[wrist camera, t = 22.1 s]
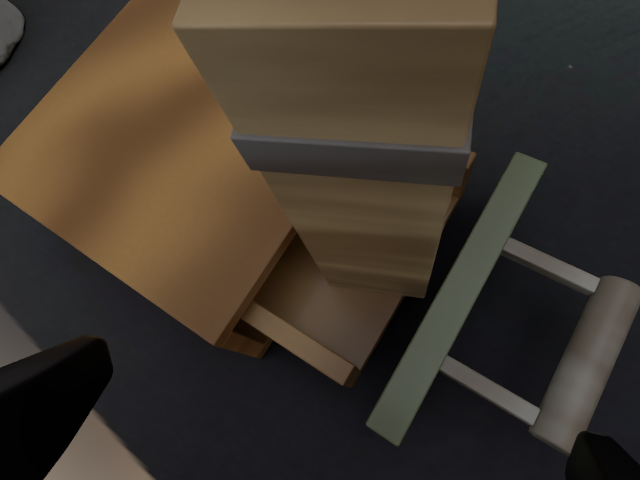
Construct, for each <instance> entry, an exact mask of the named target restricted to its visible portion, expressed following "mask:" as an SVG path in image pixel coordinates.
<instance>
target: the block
mask: <svg viewBox="0 0 640 480" xmlns="http://www.w3.org/2000/svg"><path fill="white" fill-rule="evenodd" d="M497 8H498V0H181V1H180V4H179V7H178V9H177V12H176V14H175V17H174V20H173V22H172V28H173V30H174V32H175V33H176V35H177V37H178V38H179V40H180V42H181V43H182V45H183V47H184V48H185V50H186V51H187V53H188V55H189V56H190V58H191V60H192V61H193V63H194V65H195V66H196V68H197V69H198V71H199V73H200V74H201V76H202V78H203V79H204V81H205V83H206V84H207V86H208V88H209V89H210V91H211V92H212V94H213V96H214V97H215V99H216V101H217V102H218V104H219V106H220V107H221V109H222V110H223V112H224V114H225V115H226V117H227V119H228V120H229V122H230V124H231V125H232V127H233V129H232V133H231V136H230V138H231V141H232V142H233V144H234V145H235V147H236V148H237V150H238V151H239V153H240V154H241V156H242V158H243V159H244V161H245V162H246V164H247V165H248V167H249V168H250V170H253V171H260V173H261V174H262V176H263V178H264V179H265V181H266V182H267V184H268V186H269V187H270V189H271V191H272V192H273V194H274V196H275V197H276V199H277V200H278V202H279V204H280V205H281V207H282V209H283V210H284V212H285V214H286V215H287V217H288V218H289V220H290V222H291V223H292V225H293V227H294V228H295V230H296V232H297V233H298V235H299V237H300V238H301V240H302V241H303V243H304V245H305V246H306V248H307V250H308V251H309V253H310V255H311V256H312V258H313V259H314V261H315V263H316V264H317V266H318V268H319V269H320V271H321V273H322V274H323V276H324V277H325V279H326V281H327V282H328V284H329V285H332V286H339V287H347V288H354V289H361V290H368V291H375V292H382V293H390V294H397V295H404V296H411V297H418V298H425V295H426V291H427V287H428V284H429V280H430V276H431V272H432V268H433V265H434V261H435V257H436V253H437V249H438V246H439V242H440V238H441V234H442V230H443V227H444V223H445V219H446V215H447V211H448V208H449V204H450V200H451V196H452V192H453V189H454V187H460V186H461V184H462V180H463V177H464V174H465V170H466V167H467V164H468V160H469V157H470V153H471V143H472V130H473V117H474V109H475V105H476V101H477V98H478V94H479V90H480V86H481V82H482V79H483V75H484V71H485V67H486V63H487V60H488V56H489V52H490V48H491V44H492V41H493V37H494V33H495V29H496V24H497Z"/></svg>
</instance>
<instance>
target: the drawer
mask: <svg viewBox="0 0 640 480" xmlns="http://www.w3.org/2000/svg"><path fill="white" fill-rule="evenodd" d="M475 158H476V153H474V152H472V151H471V153H470V157H469V160H468V164H467V167H466V170H465V174H464V177H463V180H462V184H461V186H460V187H454V189H453V192H452V196H451V200H450V204H449V208H448V211H447V215H446V219H445V223H444V227H443V229H444V228H445V226H446V224H447V222H448V220H449V219H450V217H451V215H452V213H453V212H454V210H455V208H456V206H457V205H458V203H459V201H460V199H461V198H462V196H463V194H464V192H465V189H466V186H467V183H468V180H469V177H470V174H471V170H472V167H473V164H474V161H475ZM546 167H547V163H545V162H542V161H540V160H537V159H535V158H532V157H529V156H527V155H524V154H522V153H519V152H515V154H514V155H513V157H512V159H511V161H510V163H509V164H508V166H507V168H506V170H505V172H504V173H503V175H502V177H501V179H500V181H499V183H498V184H497V186H496V188H495V190H494V192H493V193H492V195H491V197H490V199H489V201H488V202H487V204H486V206H485V208H484V210H483V211H482V213H481V215H480V217H479V219H478V221H477V222H476V224H475V226H474V228H473V230H472V231H471V233H470V235H469V237H468V239H467V240H466V242H465V244H464V246H463V248H462V250H461V251H460V253H459V255H458V257H457V259H456V260H455V262H454V264H453V266H452V268H451V269H450V271H449V273H448V275H447V277H446V278H445V280H444V282H443V284H442V286H441V288H440V289H439V291H438V293H437V295H436V297H435V298H434V300H433V302H432V304H431V306H430V307H429V309H428V311H427V313H426V315H425V316H424V318H423V320H422V322H421V324H420V326H419V327H418V329H417V331H416V333H415V335H414V336H413V338H412V340H411V342H410V344H409V345H408V347H407V349H406V351H405V353H404V354H403V356H402V358H401V360H400V362H399V364H398V365H397V367H396V369H395V371H394V373H393V374H392V376H391V378H390V380H389V382H388V383H387V385H386V387H385V389H384V391H383V393H382V394H381V396H380V398H379V400H378V402H377V403H376V405H375V407H374V409H373V411H372V412H371V414H370V416H369V418H368V420H367V421H366V426H367V427H369V428H370V429H372V430H373V431H375V432H376V433H378V434H379V435H381V436H382V437H383V438H385V439H386V440H388V441H389V442H391V443H392V444H394V445H395V446H397V447H398V446H399V445H400V444H401V442H402V440H403V438H404V436H405V434H406V432H407V430H408V428H409V426H410V425H411V423H412V421H413V419H414V417H415V415H416V413H417V411H418V409H419V408H420V406H421V404H422V402H423V400H424V398H425V396H426V394H427V392H428V390H429V389H430V387H431V385H432V383H433V381H434V379H435V377H436V375H437V373H438V371H439V372H440V373H442V374H444V375H445V376H447V377H449V378H450V379H452V380H454V381H455V382H457V383H459V384H461V385H462V386H464V387H466V388H467V389H469V390H471V391H472V392H474V393H476V394H477V395H479V396H481V397H482V398H484V399H486V400H487V401H489V402H491V403H492V404H494V405H496V406H497V407H499V408H501V409H502V410H504V411H506V412H507V413H509V414H511V415H512V416H514V417H516V418H517V419H519V420H521V421H522V422H524V423H526V424H528V425H530V427H529V432H530V433H531V434H532V435H533V436H534V437H536V438H537V439H539V440H540V441H542V442H544V443H545V444H547V445H549V446H550V447H552V448H554V449H556V450H558V451H559V452H561V453H563V454H565V455H568V456H570V453H571V450H572V448H573V445H574V442H575V440H576V437H577V435H578V434H579V433H580V432H581V431H586V430H587V427H588V425H589V423H590V420H591V418H592V416H593V413H594V411H595V409H596V406H597V404H598V402H599V399H600V397H601V395H602V392H603V390H604V388H605V385H606V383H607V381H608V378H609V376H610V374H611V371H612V369H613V367H614V364H615V362H616V360H617V357H618V355H619V353H620V350H621V348H622V346H623V343H624V341H625V339H626V336H627V334H628V332H629V329H630V327H631V325H632V322H633V320H634V318H635V315H636V313H637V311H638V308H639V306H640V286H638V285H637V284H635V283H633V282H631V281H629V280H626V279H623V278H620V277H616V276H601V277H600V278H598V277H596V276H593V275H591V274H589V273H587V272H585V271H582V270H580V269H578V268H576V267H574V266H572V265H569V264H567V263H565V262H563V261H561V260H558V259H556V258H554V257H552V256H550V255H548V254H545V253H543V252H541V251H539V250H537V249H534V248H532V247H530V246H528V245H526V244H524V243H521V242H519V241H517V240H515V239H513V238H510V235H511V233H512V231H513V229H514V227H515V225H516V224H517V222H518V220H519V218H520V216H521V214H522V212H523V210H524V208H525V206H526V205H527V203H528V201H529V199H530V197H531V195H532V193H533V191H534V189H535V187H536V186H537V184H538V182H539V180H540V178H541V176H542V174H543V172H544V170H545V169H546ZM442 231H443V230H442ZM500 255H502V256H504V257H506V258H508V259H510V260H512V261H514V262H517V263H519V264H521V265H523V266H525V267H527V268H529V269H531V270H533V271H535V272H538V273H540V274H542V275H544V276H546V277H548V278H550V279H552V280H554V281H557V282H559V283H561V284H563V285H565V286H567V287H569V288H571V289H573V290H575V291H578V292H580V293H582V294H584V295H586V296H589V295H590V297H589V299H588V301H587V303H586V306H585V308H584V310H583V312H582V314H581V316H580V319H579V321H578V323H577V325H576V327H575V329H574V332H573V334H572V336H571V338H570V340H569V342H568V345H567V347H566V349H565V351H564V353H563V355H562V358H561V360H560V362H559V364H558V366H557V368H556V371H555V373H554V375H553V377H552V379H551V381H550V384H549V386H548V388H547V390H546V392H545V395H544V397H543V399H542V401H541V403H540V405H539V408H538V407H536V406H535V405H533V404H531V403H529V402H528V401H526V400H524V399H522V398H521V397H519V396H517V395H516V394H514V393H512V392H510V391H509V390H507V389H505V388H504V387H502V386H500V385H498V384H497V383H495V382H493V381H491V380H490V379H488V378H486V377H485V376H483V375H481V374H479V373H478V372H476V371H474V370H472V369H471V368H469V367H467V366H466V365H464V364H462V363H460V362H459V361H457V360H455V359H454V358H452V357H450V356H448V355H447V354H448V353H449V351H450V349H451V347H452V345H453V343H454V341H455V339H456V337H457V335H458V334H459V332H460V330H461V328H462V326H463V324H464V322H465V320H466V318H467V316H468V315H469V313H470V311H471V309H472V307H473V305H474V303H475V301H476V299H477V297H478V296H479V294H480V292H481V290H482V288H483V286H484V284H485V282H486V280H487V279H488V277H489V275H490V273H491V271H492V269H493V267H494V265H495V263H496V261H497V260H498V258H499V256H500ZM404 298H405V296H404V295H397V294H390V293H382V292H375V291H368V290H361V289H354V288H347V287H339V286H332V285H329V284H328V282H327V281H326V279H325V277H324V276H323V274H322V273H321V271H320V269H319V268H318V266H317V264H316V263H315V261H314V259H313V258H312V256H311V255H310V253H309V251H308V250H307V248H306V246H305V245H304V243H303V241H302V240H301V238H300V237H299V235H298V233H296V235H295V236H294V238H293V239H292V241H291V242H290V244H289V245H288V247H287V248H286V250H285V251H284V253H283V254H282V256H281V257H280V259H279V260H278V262H277V263H276V265H275V267H274V268H273V270H272V271H271V273H270V274H269V276H268V277H267V279H266V280H265V282H264V283H263V285H262V286H261V288H260V289H259V291H258V292H257V294H256V295H255V297H254V298H253V300H252V301H251V303H250V304H249V306H248V307H247V309H246V310H245V312H244V314H243V315H242V317H241V318H240V319H242V320H243V321H245V322H246V323H248V324H249V325H251V326H252V327H254V328H255V329H257V330H258V331H260V332H261V333H263V334H264V335H266V336H268V337H269V338H271V339H272V340H274V341H275V342H277V343H278V344H280V345H281V346H283V347H284V348H286V349H287V350H289V351H290V352H292V353H293V354H295V355H296V356H298V357H299V358H301V359H302V360H304V361H305V362H307V363H308V364H310V365H311V366H313V367H314V368H316V369H317V370H319V371H320V372H322V373H323V374H325V375H326V376H328V377H329V378H331V379H332V380H334V381H335V382H337V383H338V384H340V385H341V386H346V387H350V388H353V387H354V385H355V384H356V382H357V380H358V378H359V377H360V375H361V373H362V371H363V370H364V368H365V366H366V364H367V362H368V361H369V359H370V357H371V355H372V354H373V352H374V350H375V348H376V347H377V345H378V343H379V341H380V340H381V338H382V336H383V334H384V333H385V331H386V329H387V327H388V326H389V324H390V322H391V320H392V319H393V317H394V315H395V313H396V312H397V310H398V308H399V306H400V305H401V303H402V301H403V299H404Z"/></svg>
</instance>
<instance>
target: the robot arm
mask: <svg viewBox="0 0 640 480" xmlns="http://www.w3.org/2000/svg"><path fill="white" fill-rule="evenodd" d="M112 374H113V365H112V361H111V357H110V353H109V349H108V346H107V342H106V341H105V340H104V339H103V338H101V337H96V336H91V335H83V336H80V337H77V338H75V339H72V340H70V341H67V342H65V343H62V344H60V345H57V346H54V347H52V348H49V349H47V350H44V351H42V352H39V353H37V354H34V355H31V356H29V357H26V358H24V359H21V360H19V361H16V362H13V363H11V364H8V365H6V366H3V367H1V368H0V480H43V479H44V478H45V477H46V476H47V474H48V473H49V472H50V470H51V469H52V467H53V466H54V465H55V463H56V462H57V461H58V460H59V458H60V457H61V456H62V454H63V453H64V451H65V450H66V449H67V447H68V446H69V444H70V443H71V441H72V440H73V438H74V437H75V435H76V433H77V432H78V430H79V429H80V427H81V426H82V424H83V422H84V421H85V419H86V418H87V416H88V415H89V413H90V411H91V410H92V408H93V407H94V405H95V404H96V402H97V400H98V399H99V397H100V396H101V394H102V392H103V391H104V389H105V388H106V386H107V384H108V383H109V381H110V379H111V377H112ZM565 476H566V480H640V465H639V464H638V463H637V462H636V461H635V460H634V459H633V458H632V457H631V456H630V455H629V454H628V453H627V452H626V451H625V450H624V449H623V448H622V447H621V446H620V445H619V444H618V443H617V442H616V441H615V440H614V439H613V438H611V437H610V436H608V435H605V434H599V433H594V432H589V431H581V432H580V433H579V434H578V435H577V437H576V440H575V442H574V445H573V448H572V450H571V453H570V456H569V458H568V461H567V464H566V471H565Z"/></svg>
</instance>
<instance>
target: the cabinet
mask: <svg viewBox="0 0 640 480" xmlns="http://www.w3.org/2000/svg"><path fill="white" fill-rule="evenodd" d="M180 1H181V0H130V1H129V2H128V3H127V5H126V6H125V7H124V8H123V9H122V10H121V11H120V12H119V14H118V15H117V16H116V17H115V18H114V19H113V20H112V21H111V23H110V24H109V25H108V26H107V27H106V28H105V29H104V30H103V32H102V33H101V34H100V35H99V36H98V37H97V38H96V39H95V41H94V42H93V43H92V44H91V45H90V46H89V47H88V48H87V50H86V51H85V52H84V53H83V54H82V55H81V56H80V57H79V59H78V60H77V61H76V62H75V63H74V64H73V65H72V66H71V68H70V69H69V70H68V71H67V72H66V73H65V74H64V75H63V77H62V78H61V79H60V80H59V81H58V82H57V83H56V84H55V86H54V87H53V88H52V89H51V90H50V91H49V92H48V93H47V95H46V96H45V97H44V98H43V99H42V100H41V101H40V102H39V104H38V105H37V106H36V107H35V108H34V109H33V110H32V111H31V113H30V114H29V115H28V116H27V117H26V118H25V119H24V120H23V121H22V123H21V124H20V125H19V126H18V127H17V128H16V129H15V130H14V132H13V133H12V134H11V135H10V136H9V137H8V138H7V139H6V141H5V142H4V143H3V144H2V145H1V146H0V195H2V196H3V197H5V198H6V199H7V200H9V201H10V202H12V203H13V204H14V205H16V206H17V207H19V208H20V209H22V210H23V211H24V212H26V213H27V214H29V215H30V216H31V217H33V218H34V219H36V220H37V221H38V222H40V223H41V224H43V225H44V226H45V227H47V228H48V229H50V230H51V231H52V232H54V233H55V234H57V235H58V236H59V237H61V238H62V239H64V240H65V241H67V242H68V243H69V244H71V245H72V246H74V247H75V248H76V249H78V250H79V251H81V252H82V253H83V254H85V255H86V256H88V257H89V258H90V259H92V260H93V261H95V262H96V263H97V264H99V265H100V266H102V267H103V268H104V269H106V270H107V271H109V272H110V273H111V274H113V275H114V276H116V277H117V278H119V279H120V280H121V281H123V282H124V283H126V284H127V285H128V286H130V287H131V288H133V289H134V290H135V291H137V292H138V293H140V294H141V295H142V296H144V297H145V298H147V299H148V300H149V301H151V302H152V303H154V304H155V305H156V306H158V307H159V308H161V309H162V310H164V311H165V312H166V313H168V314H169V315H171V316H172V317H173V318H175V319H176V320H178V321H179V322H180V323H182V324H183V325H185V326H186V327H187V328H189V329H190V330H192V331H193V332H194V333H196V334H197V335H199V336H200V337H201V338H203V339H204V340H206V341H207V342H209V343H210V344H211V345H213V346H216V347H220V348H224V349H227V350H231V351H234V352H238V353H241V354H245V355H248V356H252V357H255V358H258V359H262V357H263V356H264V354H265V352H266V351H267V349H268V348H269V346H270V345H271V343H272V341H273V340H272V339H271V338H269V337H268V336H266V335H264V334H263V333H261V332H260V331H258V330H257V329H255V328H254V327H252V326H251V325H249V324H248V323H246V322H245V321H243V320H242V319H240V318H241V317H242V315H243V314H244V312H245V310H246V309H247V307H248V306H249V304H250V303H251V301H252V300H253V298H254V297H255V295H256V294H257V292H258V291H259V289H260V288H261V286H262V285H263V283H264V282H265V280H266V279H267V277H268V276H269V274H270V273H271V271H272V270H273V268H274V267H275V265H276V263H277V262H278V260H279V259H280V257H281V256H282V254H283V253H284V251H285V250H286V248H287V247H288V245H289V244H290V242H291V241H292V239H293V238H294V236H295V235H296V233H297V232H296V230H295V228H294V227H293V225H292V223H291V222H290V220H289V218H288V217H287V215H286V214H285V212H284V210H283V209H282V207H281V205H280V204H279V202H278V200H277V199H276V197H275V196H274V194H273V192H272V191H271V189H270V187H269V186H268V184H267V182H266V181H265V179H264V178H263V176H262V174H261V173H260V171H253V170H250V168H249V167H248V165H247V164H246V162H245V161H244V159H243V158H242V156H241V154H240V153H239V151H238V150H237V148H236V147H235V145H234V144H233V142H232V141H231V138H230V136H231V133H232V129H233V127H232V125H231V124H230V122H229V120H228V119H227V117H226V115H225V114H224V112H223V110H222V109H221V107H220V106H219V104H218V102H217V101H216V99H215V97H214V96H213V94H212V92H211V91H210V89H209V88H208V86H207V84H206V83H205V81H204V79H203V78H202V76H201V74H200V73H199V71H198V69H197V68H196V66H195V65H194V63H193V61H192V60H191V58H190V56H189V55H188V53H187V51H186V50H185V48H184V47H183V45H182V43H181V42H180V40H179V38H178V37H177V35H176V33H175V32H174V30H173V28H172V22H173V20H174V17H175V14H176V12H177V9H178V7H179V4H180Z"/></svg>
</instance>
